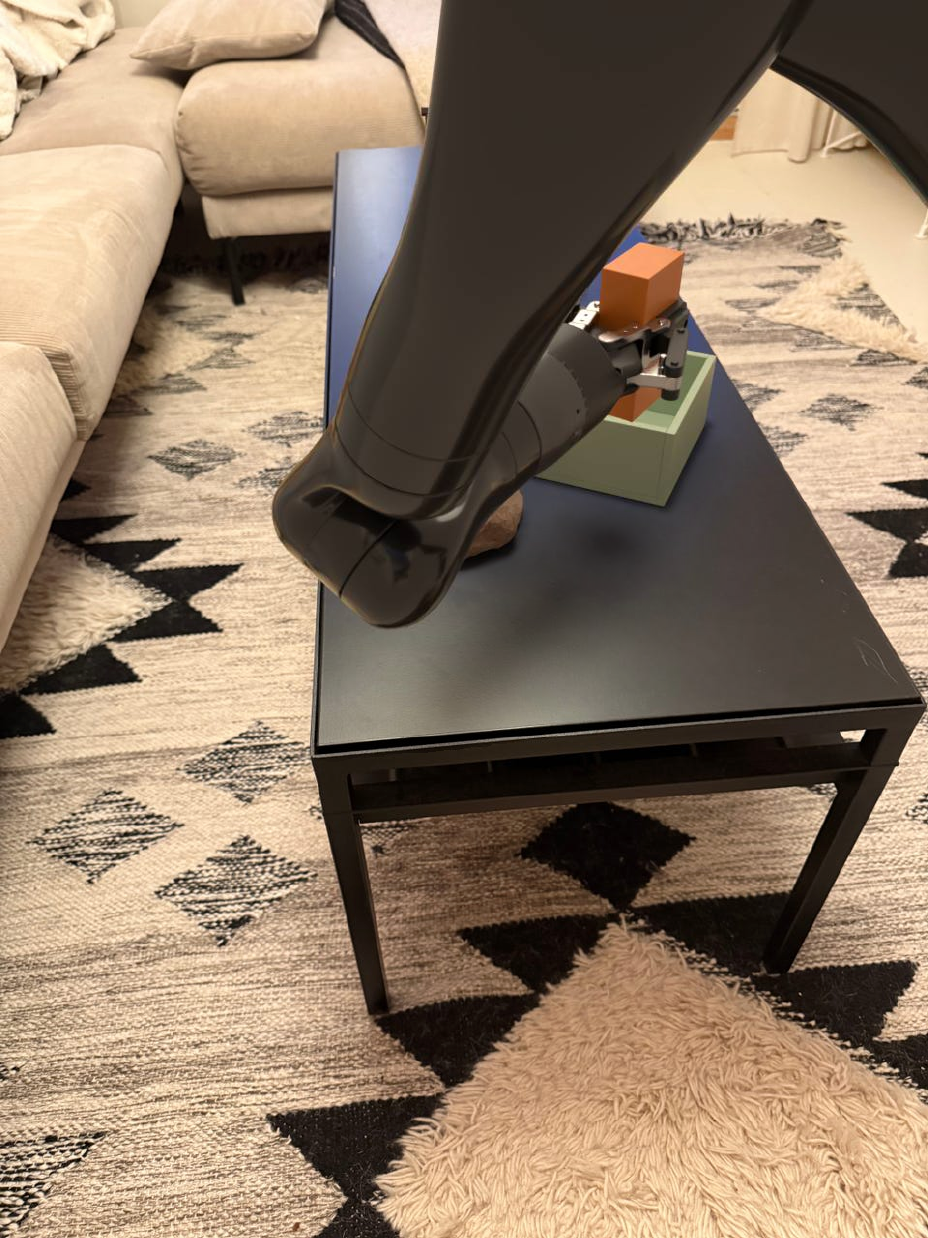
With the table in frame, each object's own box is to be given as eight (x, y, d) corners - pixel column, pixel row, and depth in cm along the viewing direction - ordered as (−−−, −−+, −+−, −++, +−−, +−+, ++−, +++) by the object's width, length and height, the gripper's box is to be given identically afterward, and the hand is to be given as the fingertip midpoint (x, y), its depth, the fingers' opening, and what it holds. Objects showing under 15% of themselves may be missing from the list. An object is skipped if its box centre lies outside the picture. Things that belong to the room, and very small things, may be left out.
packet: (666, 391, 73) (685, 251, 65) (632, 422, 69) (648, 279, 62) (625, 379, 74) (639, 241, 67) (590, 409, 71) (601, 267, 63)
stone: (414, 508, 90) (362, 456, 82) (487, 446, 89) (442, 387, 81) (478, 594, 83) (429, 546, 75) (558, 527, 82) (517, 471, 74)
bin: (704, 424, 96) (717, 355, 91) (664, 507, 86) (675, 434, 80) (563, 396, 101) (567, 328, 95) (508, 470, 91) (509, 400, 85)
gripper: (637, 381, 53) (754, 277, 63) (441, 322, 60) (576, 236, 70) (625, 488, 58) (735, 376, 69) (445, 423, 65) (571, 330, 75)
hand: (654, 306), depth 69 cm, fingers closed on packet, 3 cm apart
